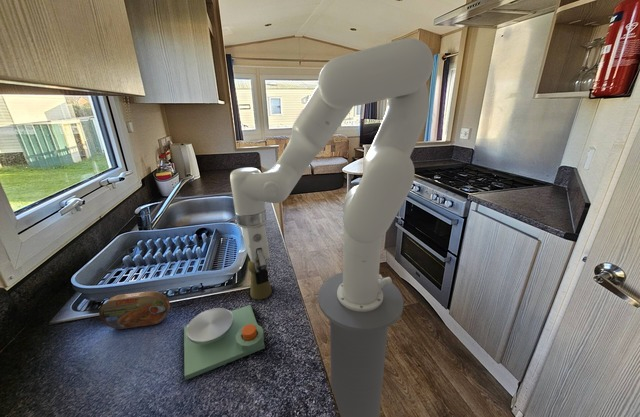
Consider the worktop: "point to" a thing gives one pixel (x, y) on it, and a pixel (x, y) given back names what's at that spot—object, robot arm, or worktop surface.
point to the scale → (222, 345)
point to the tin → (134, 310)
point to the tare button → (249, 332)
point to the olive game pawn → (260, 289)
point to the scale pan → (210, 326)
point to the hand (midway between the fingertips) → (258, 273)
